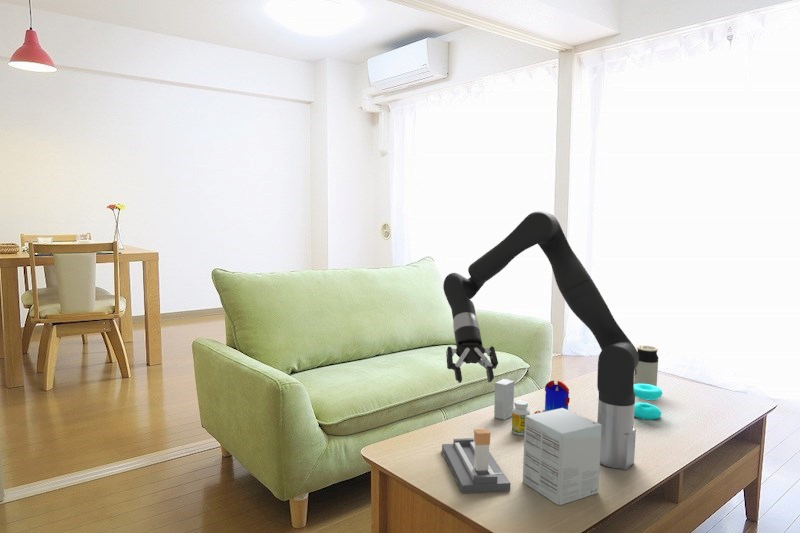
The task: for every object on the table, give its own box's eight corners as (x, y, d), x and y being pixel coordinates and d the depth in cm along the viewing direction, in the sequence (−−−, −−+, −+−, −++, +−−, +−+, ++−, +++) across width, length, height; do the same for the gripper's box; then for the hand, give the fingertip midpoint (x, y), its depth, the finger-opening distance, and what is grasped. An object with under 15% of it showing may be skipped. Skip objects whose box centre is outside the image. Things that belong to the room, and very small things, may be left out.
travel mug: (657, 392, 210) (660, 347, 208) (654, 398, 203) (657, 351, 202) (635, 389, 214) (637, 344, 212) (631, 394, 207) (634, 348, 206)
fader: (472, 470, 138) (474, 429, 137) (485, 470, 139) (487, 428, 138) (476, 476, 135) (477, 433, 134) (489, 475, 136) (490, 433, 135)
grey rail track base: (441, 450, 155) (442, 438, 155) (482, 449, 157) (483, 437, 156) (462, 493, 132) (462, 479, 131) (510, 490, 133) (510, 476, 133)
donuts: (635, 390, 180) (626, 381, 190) (634, 420, 181) (624, 409, 191) (667, 392, 179) (656, 383, 189) (665, 421, 180) (654, 411, 190)
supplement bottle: (520, 427, 173) (521, 398, 172) (532, 433, 169) (533, 403, 168) (507, 431, 170) (508, 401, 169) (520, 437, 166) (521, 406, 165)
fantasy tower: (531, 414, 186) (532, 379, 184) (550, 406, 193) (552, 373, 192) (561, 424, 177) (563, 388, 176) (581, 415, 185) (582, 381, 184)
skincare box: (502, 412, 187) (503, 378, 185) (513, 415, 184) (514, 380, 183) (493, 417, 182) (494, 382, 181) (504, 420, 179) (506, 385, 178)
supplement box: (560, 470, 144) (562, 406, 142) (599, 493, 133) (603, 424, 131) (521, 481, 138) (523, 414, 136) (559, 506, 126) (562, 433, 125)
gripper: (445, 324, 157) (452, 375, 147) (493, 324, 159) (503, 374, 148) (441, 338, 163) (447, 388, 152) (487, 338, 164) (497, 387, 154)
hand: (475, 381), depth 150 cm, fingers open, 8 cm apart
